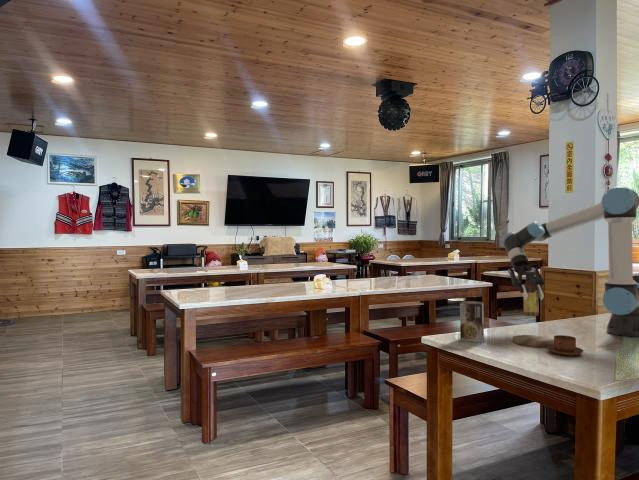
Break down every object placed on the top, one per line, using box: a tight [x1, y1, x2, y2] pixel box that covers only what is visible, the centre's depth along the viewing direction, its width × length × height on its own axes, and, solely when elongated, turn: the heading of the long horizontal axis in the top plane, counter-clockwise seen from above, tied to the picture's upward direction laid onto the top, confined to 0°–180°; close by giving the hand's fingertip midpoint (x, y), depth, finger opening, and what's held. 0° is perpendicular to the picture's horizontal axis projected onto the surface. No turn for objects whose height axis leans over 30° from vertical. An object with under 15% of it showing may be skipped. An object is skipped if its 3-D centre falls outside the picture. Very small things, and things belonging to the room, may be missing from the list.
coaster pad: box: [512, 334, 554, 349], centre depth 192 cm, size 16×16×2 cm
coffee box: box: [459, 300, 485, 343], centre depth 197 cm, size 9×6×16 cm
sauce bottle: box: [522, 270, 540, 317], centre depth 211 cm, size 7×6×20 cm
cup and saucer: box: [546, 334, 584, 357], centre depth 176 cm, size 12×12×6 cm
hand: (534, 297), depth 207 cm, fingers closed on sauce bottle, 6 cm apart
